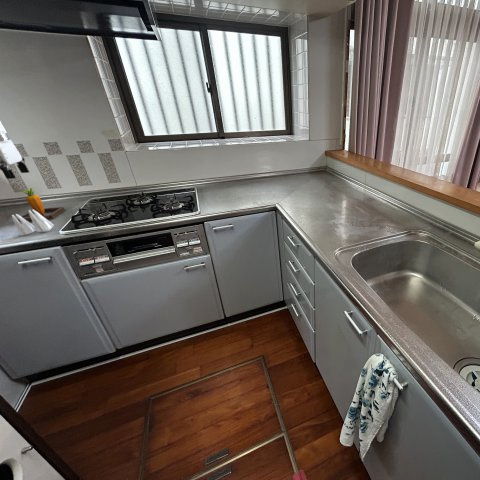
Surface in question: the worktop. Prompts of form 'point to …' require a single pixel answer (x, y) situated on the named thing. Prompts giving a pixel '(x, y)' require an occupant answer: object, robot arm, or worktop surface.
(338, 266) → the worktop surface
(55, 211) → the frame
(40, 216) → the shaker set
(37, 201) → the carrot
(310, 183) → the worktop surface
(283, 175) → the worktop surface
